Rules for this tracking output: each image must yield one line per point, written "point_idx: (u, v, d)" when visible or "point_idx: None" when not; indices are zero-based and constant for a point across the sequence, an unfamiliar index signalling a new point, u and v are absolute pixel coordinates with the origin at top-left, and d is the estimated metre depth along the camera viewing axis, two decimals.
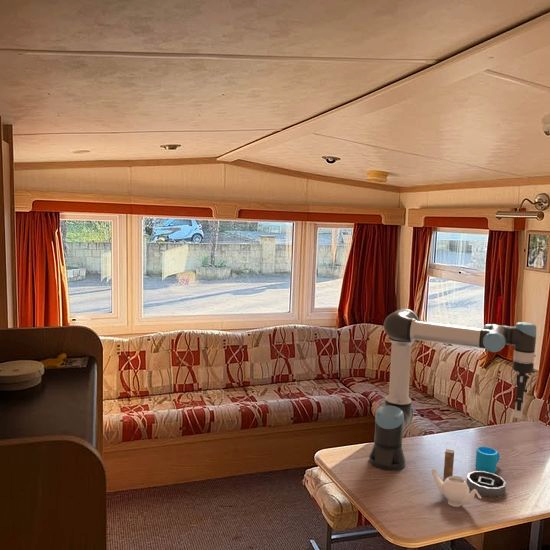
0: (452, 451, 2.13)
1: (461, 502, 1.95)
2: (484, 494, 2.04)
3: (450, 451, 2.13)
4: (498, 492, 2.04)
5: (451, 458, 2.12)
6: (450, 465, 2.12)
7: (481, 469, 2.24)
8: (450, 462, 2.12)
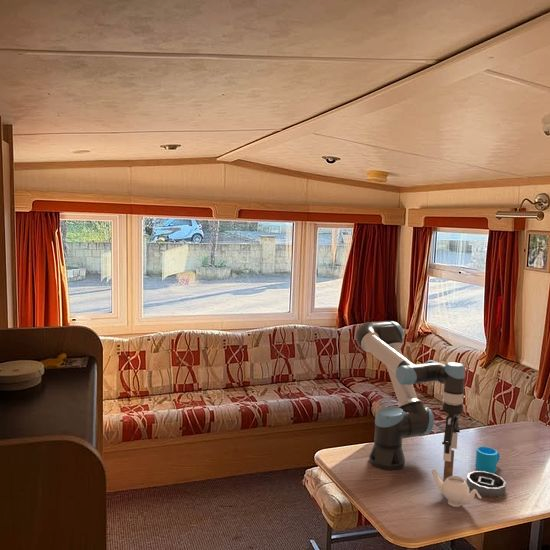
0: (452, 451, 2.13)
1: (461, 502, 1.95)
2: (484, 494, 2.04)
3: None
4: (498, 492, 2.04)
5: (451, 458, 2.12)
6: (450, 465, 2.12)
7: (481, 469, 2.24)
8: (450, 462, 2.12)
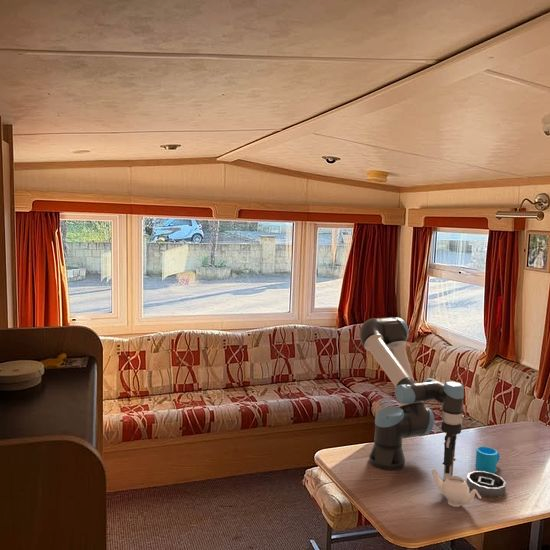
0: (452, 451, 2.13)
1: (461, 502, 1.95)
2: (484, 494, 2.04)
3: None
4: (498, 492, 2.04)
5: None
6: None
7: (481, 469, 2.24)
8: None
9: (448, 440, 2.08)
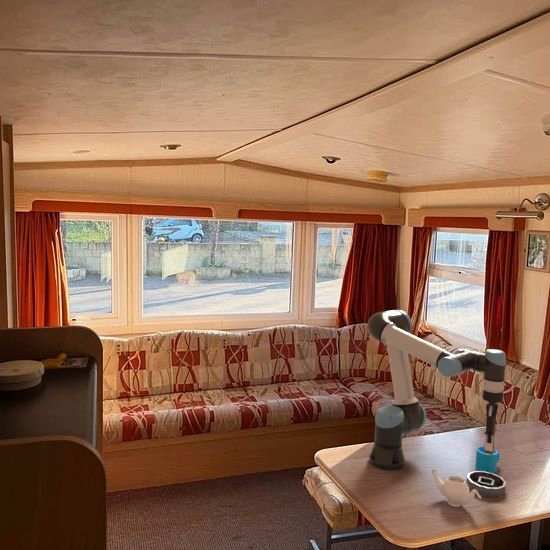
0: (494, 420, 2.07)
1: (461, 502, 1.95)
2: (484, 494, 2.04)
3: None
4: (498, 492, 2.04)
5: None
6: None
7: (481, 469, 2.24)
8: None
9: (490, 409, 2.03)
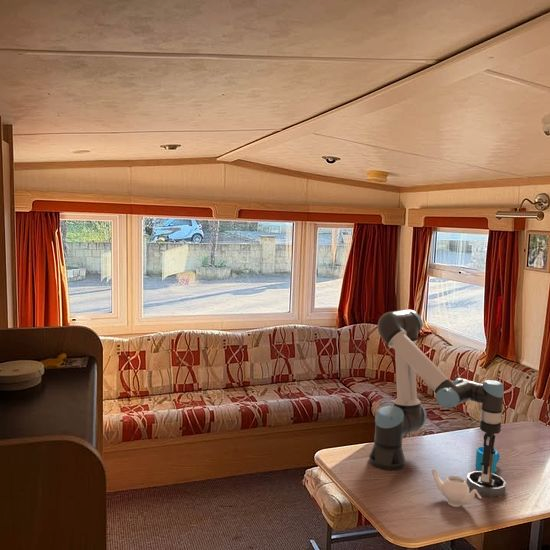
0: (491, 455, 2.09)
1: (461, 502, 1.95)
2: (484, 494, 2.04)
3: None
4: (498, 492, 2.04)
5: (490, 462, 2.07)
6: None
7: (481, 469, 2.24)
8: None
9: (488, 438, 2.04)
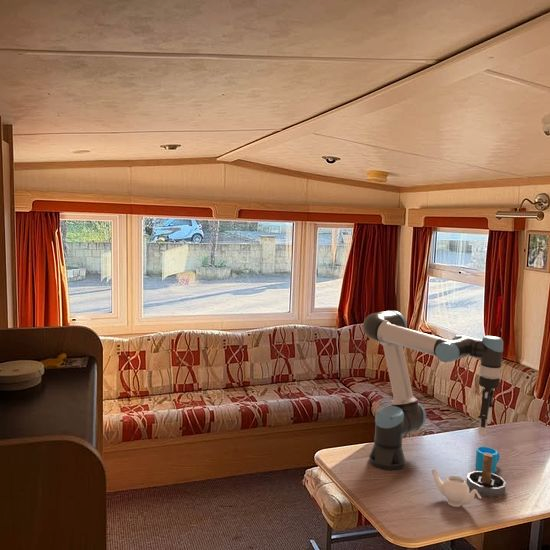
0: (491, 454, 2.09)
1: (461, 502, 1.95)
2: (484, 494, 2.04)
3: (488, 454, 2.09)
4: (498, 492, 2.04)
5: (490, 462, 2.08)
6: (489, 469, 2.08)
7: (481, 469, 2.24)
8: (489, 466, 2.08)
9: (486, 392, 2.04)
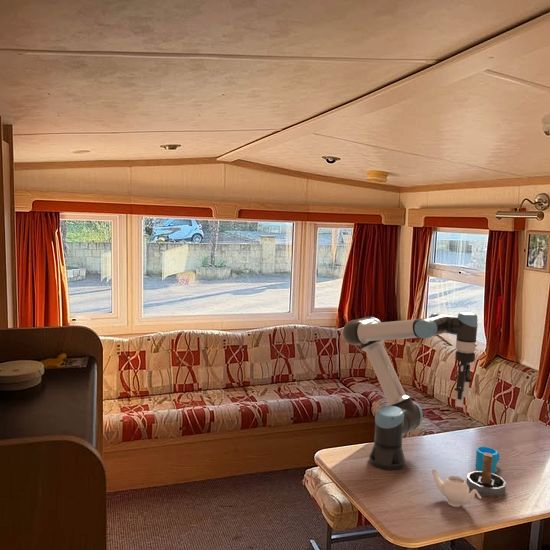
0: (491, 454, 2.09)
1: (461, 502, 1.95)
2: (484, 494, 2.04)
3: (488, 454, 2.09)
4: (498, 492, 2.04)
5: (490, 462, 2.08)
6: (489, 469, 2.08)
7: (481, 469, 2.24)
8: (489, 466, 2.08)
9: (462, 365, 2.13)
